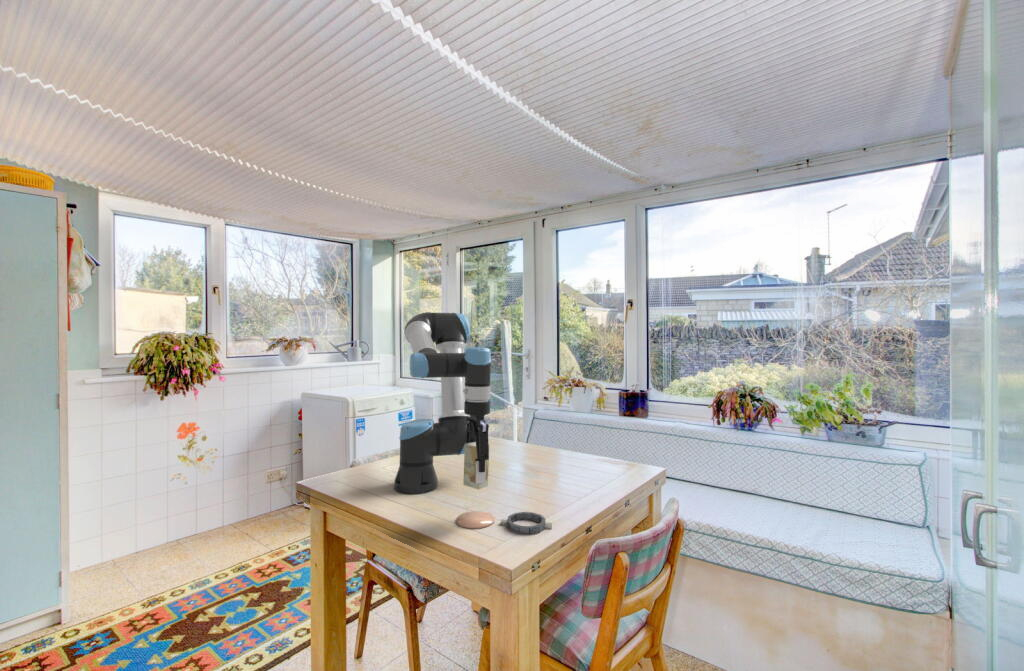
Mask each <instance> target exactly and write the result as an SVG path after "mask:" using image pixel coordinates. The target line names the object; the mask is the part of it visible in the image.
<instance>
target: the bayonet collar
mask: <svg viewBox="0 0 1024 671" xmlns="http://www.w3.org/2000/svg"><path fill="white" fill-rule="evenodd" d="M521 520H528V521H529V520H530V521H534V522H537V524H534V525H529V526H528V525H521V524H520V525H519V524H517V523H514V522H516V521H521ZM500 526H505V527H507V529H508V530H509V531H511V532H513V533H515V534H516V533H517V534H519V535H535V534H540V533H541V532H543V531H544V530H546V529H549V530H550V529H551V530H552V529H553V522H546V518H545V517H544V515H542V514H539V513H536V512H532V511H531V512H530V511H520V512H514V513H511V514H510V515H508V517H507V519H501V520H500Z"/></svg>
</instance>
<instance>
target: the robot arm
mask: <svg viewBox="0 0 1024 671" xmlns="http://www.w3.org/2000/svg"><path fill="white" fill-rule="evenodd" d="M470 334H471V330H470V322H469V319H468V318H467V316H466V315H465V314H463V313H457V312H431V311H430V312H427V311H426V312H421V313H417V315H416V314H415V316H413V317H412V318H410V319H409V320H408V321H407V323H406V324H405V327H404V337H405V339H406V341H407V342H408V343H409V345H410V347H411V348H410V349H411V352H412V353H411V354H410V357H409V375H410V376H411V377H412V378H417V379H418V378H420V379H427V378H429V379H434V378H440V384H441V385H440V388H441V389H440V390H441V392H440V393H441V412H442V413H441V415H440V416H439V417H438V419H437V421H438V422H434V419H432V418H419V419H415V420H409V421H406V422H405V423H404V424H402V425H401V427H400V430H399V432H400V433H399V465H398V466H399V467H398V468H397V469H398V470H397V472H396V475H395V479H394V481H393V483H394V484H393V487H394V490H395V491H396V492H398V493H401V494H408V495H409V494H410V495H411V494H412V495H414V494H415V495H416V494H424V493H428V492H433V490H435V489H437V487H438V486H439V485H438V483H439V481H438V476H437V473H436V469H435V466H434V457H441V456H442V457H443V456H460V455H464V454H465V444H467V443H471V442H476V451H477V459H475V461H476V484H479V483H486V460H488V459H489V460H490V444H489V427H490V425H489V423H486V420H485V416H486V415H489V414H490V412H491V401H490V399H491V390H492V388H491V372H492V370H491V366H492V364H491V362H492V356H491V355H492V353H491V350H490V348H489V347H475V346H474V347H467V348H466V346H467V343H469V341H470V340H471V339H470V338H471V335H470ZM465 348H466V349H465ZM464 349H465V352H463V350H464ZM437 350H438V351H439V352H438V351H437ZM483 455H484V456H483Z"/></svg>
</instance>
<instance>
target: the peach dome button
mask: <svg viewBox="0 0 1024 671" xmlns="http://www.w3.org/2000/svg"><path fill="white" fill-rule="evenodd" d="M494 523H495V516H494V515H493V514H492V513H489V512H485V511H478V510H477V511H475V510H473V511H468V512H463V513H461V514H459V515H458V516H457V517H456V524H457V525H458V526H460V527H462V528H463V529H464V528H465V529H470V530H472V529H473V530H478V529H480V530H481V529H485V528H488V527H490V526H492V525H493V524H494Z"/></svg>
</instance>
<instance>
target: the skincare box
mask: <svg viewBox="0 0 1024 671" xmlns="http://www.w3.org/2000/svg"><path fill="white" fill-rule="evenodd" d="M463 456H464V462H463V482H462V483H463V486H466V487H469V488H472V489H476V490H481V489H484V488H487V487H488V486H489V466H490V465H489V464H490V463H489V460H490V458H489V459H488V460H486V483H479V484H476V461H475V459H477V451H476V442H471V443H467V444H465V454H463ZM483 456H484V455H483Z"/></svg>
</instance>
